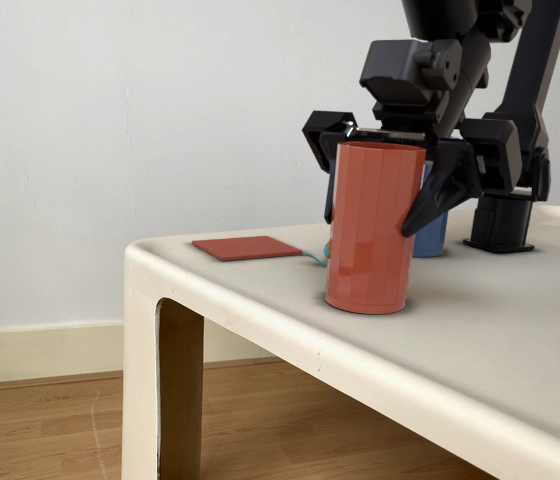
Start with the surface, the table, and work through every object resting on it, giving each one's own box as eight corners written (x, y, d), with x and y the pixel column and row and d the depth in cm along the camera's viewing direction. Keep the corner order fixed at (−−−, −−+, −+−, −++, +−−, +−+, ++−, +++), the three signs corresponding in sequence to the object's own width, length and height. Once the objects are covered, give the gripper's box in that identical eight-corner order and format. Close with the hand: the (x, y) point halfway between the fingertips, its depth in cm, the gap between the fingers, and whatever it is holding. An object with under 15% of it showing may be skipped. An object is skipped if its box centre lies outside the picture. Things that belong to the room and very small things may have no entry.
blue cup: (417, 242, 80) (430, 134, 75) (455, 254, 75) (472, 138, 70) (372, 246, 77) (383, 133, 72) (408, 259, 72) (423, 137, 67)
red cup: (374, 286, 60) (391, 141, 55) (421, 309, 54) (445, 150, 49) (310, 293, 57) (322, 140, 52) (353, 318, 51) (371, 150, 46)
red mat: (266, 238, 79) (267, 235, 79) (302, 254, 72) (302, 250, 72) (191, 244, 75) (191, 240, 74) (222, 261, 67) (222, 257, 67)
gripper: (320, 9, 54) (233, 148, 51) (540, -4, 44) (452, 170, 40) (359, 109, 63) (288, 233, 59) (550, 118, 53) (478, 269, 49)
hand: (364, 227), depth 52 cm, fingers closed on red cup, 7 cm apart
